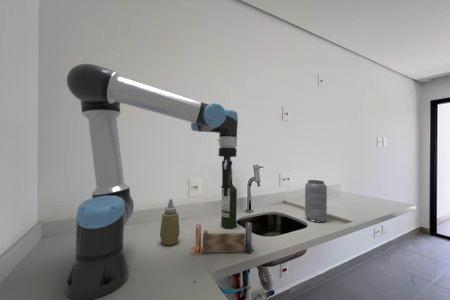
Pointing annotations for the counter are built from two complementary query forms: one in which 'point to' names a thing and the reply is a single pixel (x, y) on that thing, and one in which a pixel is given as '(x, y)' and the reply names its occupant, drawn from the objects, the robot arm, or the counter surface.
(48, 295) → the counter surface
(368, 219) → the counter surface
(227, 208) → the wine bottle
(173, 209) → the squeeze bottle
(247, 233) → the gate posts
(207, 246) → the gate
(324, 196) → the vase
